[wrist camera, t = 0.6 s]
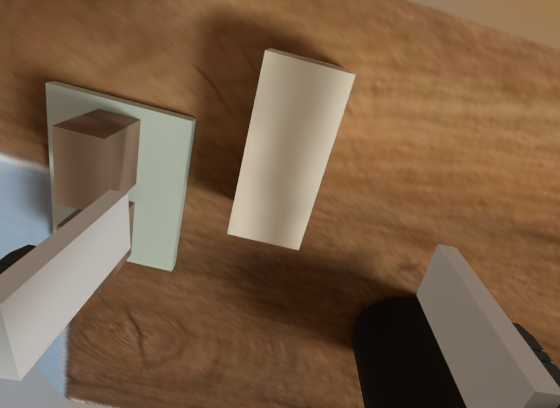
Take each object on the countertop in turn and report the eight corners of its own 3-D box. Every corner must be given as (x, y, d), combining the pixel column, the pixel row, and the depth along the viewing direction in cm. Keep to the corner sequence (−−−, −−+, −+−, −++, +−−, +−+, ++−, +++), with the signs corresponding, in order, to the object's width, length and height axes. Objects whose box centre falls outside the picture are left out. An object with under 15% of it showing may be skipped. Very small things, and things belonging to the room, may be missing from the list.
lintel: (238, 201, 33) (227, 233, 28) (271, 47, 27) (265, 50, 21) (298, 215, 33) (298, 250, 28) (343, 67, 27) (355, 74, 22)
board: (61, 238, 35) (53, 244, 34) (54, 80, 28) (45, 82, 27) (175, 264, 36) (171, 271, 35) (196, 118, 29) (192, 121, 28)
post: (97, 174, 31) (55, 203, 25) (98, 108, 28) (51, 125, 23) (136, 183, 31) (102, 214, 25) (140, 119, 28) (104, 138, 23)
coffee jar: (439, 359, 41) (533, 569, 25) (350, 362, 42) (384, 567, 26) (450, 290, 36) (575, 493, 20) (350, 295, 37) (392, 493, 21)
